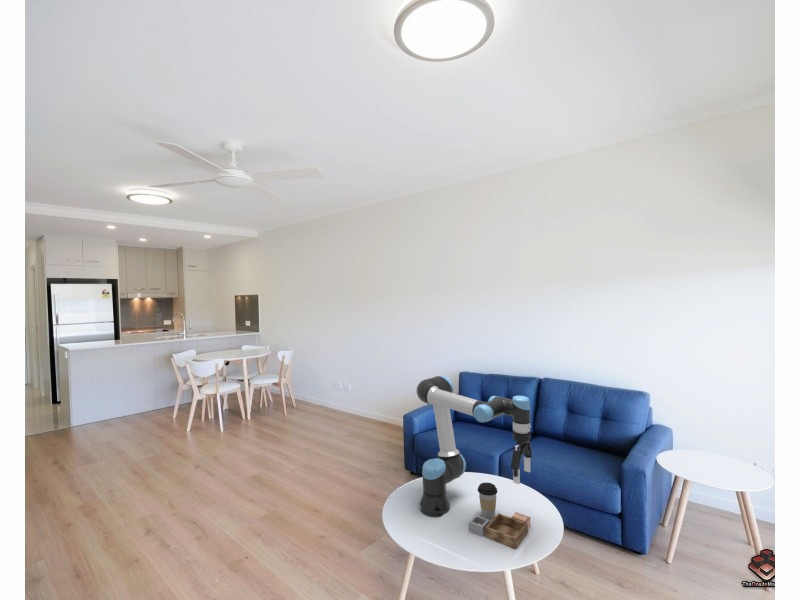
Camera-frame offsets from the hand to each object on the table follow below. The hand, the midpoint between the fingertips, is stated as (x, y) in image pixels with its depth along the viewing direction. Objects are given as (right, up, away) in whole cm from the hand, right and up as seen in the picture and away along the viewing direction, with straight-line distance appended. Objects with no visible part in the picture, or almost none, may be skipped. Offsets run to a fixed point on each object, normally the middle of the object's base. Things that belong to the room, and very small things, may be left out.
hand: (522, 477), depth 175 cm
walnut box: (-8, -25, -4) cm, 26 cm away
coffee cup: (-13, -25, +12) cm, 30 cm away
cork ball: (-19, -24, 0) cm, 31 cm away
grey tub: (-19, -25, 0) cm, 32 cm away
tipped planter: (0, -24, +2) cm, 25 cm away
